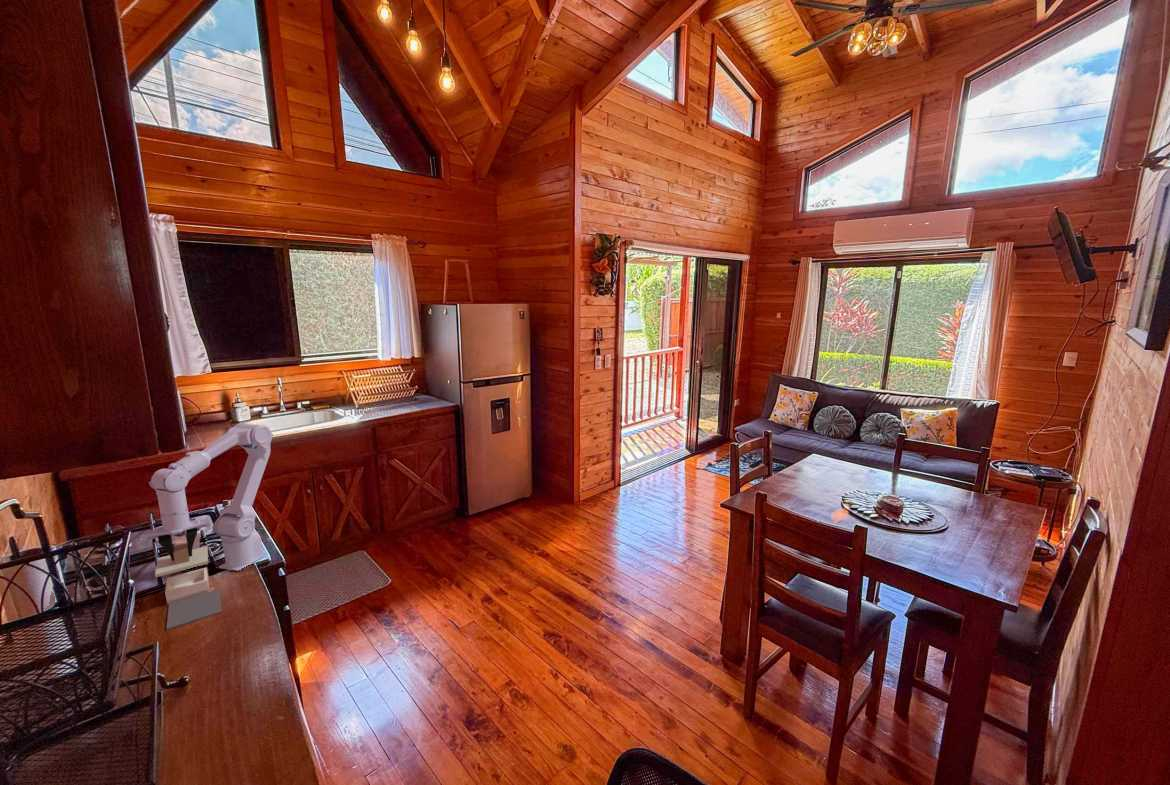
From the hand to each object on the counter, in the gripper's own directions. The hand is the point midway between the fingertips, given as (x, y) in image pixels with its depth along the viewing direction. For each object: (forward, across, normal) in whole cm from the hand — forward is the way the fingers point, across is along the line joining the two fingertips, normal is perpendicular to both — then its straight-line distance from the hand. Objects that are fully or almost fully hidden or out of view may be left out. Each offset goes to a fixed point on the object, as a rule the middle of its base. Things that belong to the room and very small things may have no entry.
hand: (182, 557), depth 134 cm
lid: (+2, 0, 0) cm, 2 cm away
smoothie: (+10, +1, +16) cm, 19 cm away
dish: (+10, 0, 0) cm, 10 cm away
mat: (+10, +2, -12) cm, 16 cm away
